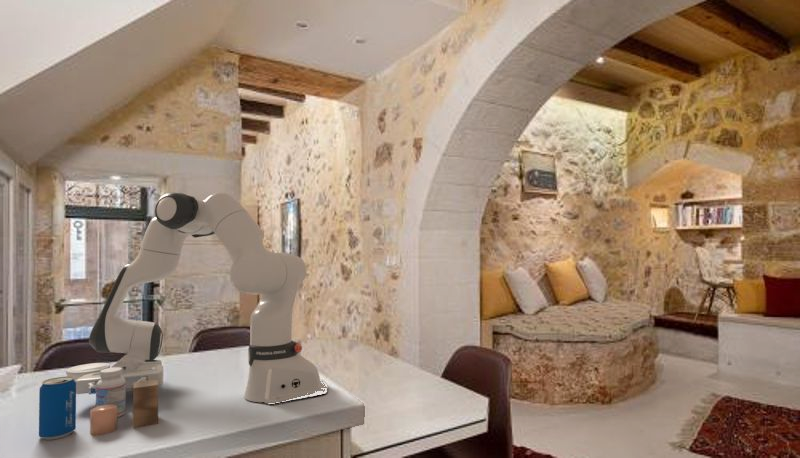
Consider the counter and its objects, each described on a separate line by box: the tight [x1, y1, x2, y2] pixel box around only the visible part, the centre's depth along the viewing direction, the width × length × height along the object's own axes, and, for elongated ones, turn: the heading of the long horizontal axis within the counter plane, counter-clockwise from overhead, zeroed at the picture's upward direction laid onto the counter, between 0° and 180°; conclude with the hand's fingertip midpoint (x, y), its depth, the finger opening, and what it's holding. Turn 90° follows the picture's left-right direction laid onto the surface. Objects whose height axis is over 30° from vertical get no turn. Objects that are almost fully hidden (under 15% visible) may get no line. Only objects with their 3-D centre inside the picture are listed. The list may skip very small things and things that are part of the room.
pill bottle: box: [95, 367, 126, 418], centre depth 111 cm, size 6×6×11 cm
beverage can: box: [38, 375, 77, 441], centre depth 100 cm, size 6×6×12 cm
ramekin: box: [65, 362, 111, 381], centre depth 138 cm, size 11×11×5 cm
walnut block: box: [132, 379, 159, 429], centre depth 106 cm, size 5×5×9 cm
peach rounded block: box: [89, 405, 118, 436], centre depth 102 cm, size 5×5×5 cm
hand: (113, 388), depth 113 cm, fingers open, 8 cm apart
